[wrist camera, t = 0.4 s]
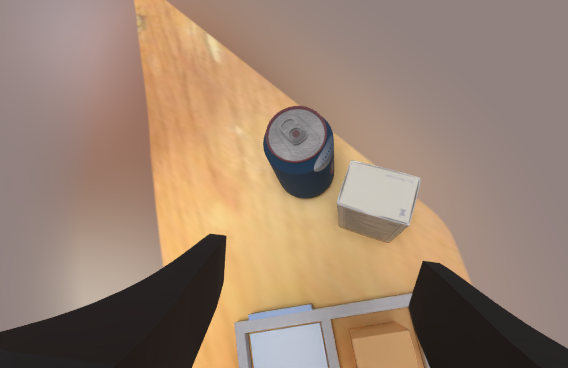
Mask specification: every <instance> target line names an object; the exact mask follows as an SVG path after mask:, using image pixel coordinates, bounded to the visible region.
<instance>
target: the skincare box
mask: <svg viewBox="0 0 568 368" xmlns="http://www.w3.org/2000/svg"><path fill="white" fill-rule="evenodd" d="M419 185H420V178H419V177H415V176H412V175H409V174H405V173H402V172H398V171H394V170H391V169H387V168H382V167H378V166H374V165H371V164H366V163H362V162H357V161H353V160H352V161H350V164H349V167H348V170H347V173H346V175H345V178H344V181H343V184H342V187H341V190H340V193H339V196H338V200H337V208H338V220H339V227H341V228H344V229H347V230H350V231H353V232H356V233H359V234H362V235H365V236H368V237H371V238H374V239H377V240H381V241H384V242H388V243H389V242H390V241H391V240H393V239H394V238H395V237H396V236H397V235H398V234H400V233H401V232H402V231H403V230H404V229H405V228H407V227H408V226H409V225H410V221H411V218H412V214H413V211H414V207H415V203H416V199H417V195H418V190H419Z"/></svg>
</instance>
